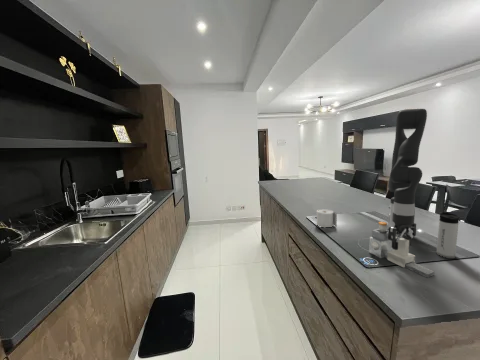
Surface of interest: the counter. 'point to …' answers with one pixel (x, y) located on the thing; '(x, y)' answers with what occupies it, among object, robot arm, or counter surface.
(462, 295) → the counter surface
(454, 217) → the travel mug
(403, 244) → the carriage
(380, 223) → the plunger
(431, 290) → the counter surface
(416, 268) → the rail
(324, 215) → the toilet tissue
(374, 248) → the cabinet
